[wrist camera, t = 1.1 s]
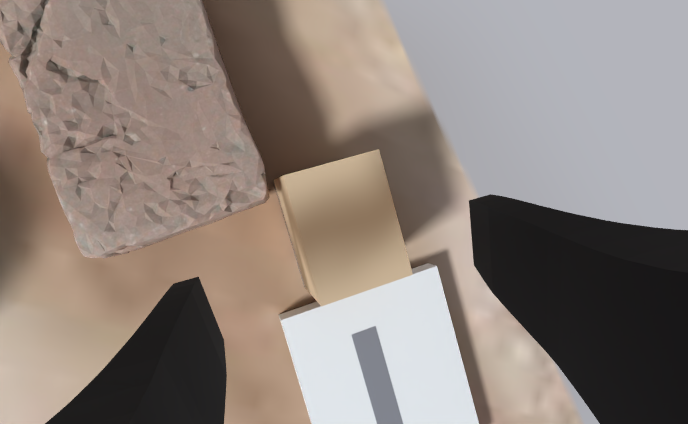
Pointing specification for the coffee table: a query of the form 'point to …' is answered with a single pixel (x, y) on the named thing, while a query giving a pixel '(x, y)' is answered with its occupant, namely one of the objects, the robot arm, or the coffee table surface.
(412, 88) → the coffee table surface
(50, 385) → the coffee table surface
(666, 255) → the robot arm
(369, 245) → the block
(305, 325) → the board
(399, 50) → the coffee table surface
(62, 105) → the brick
